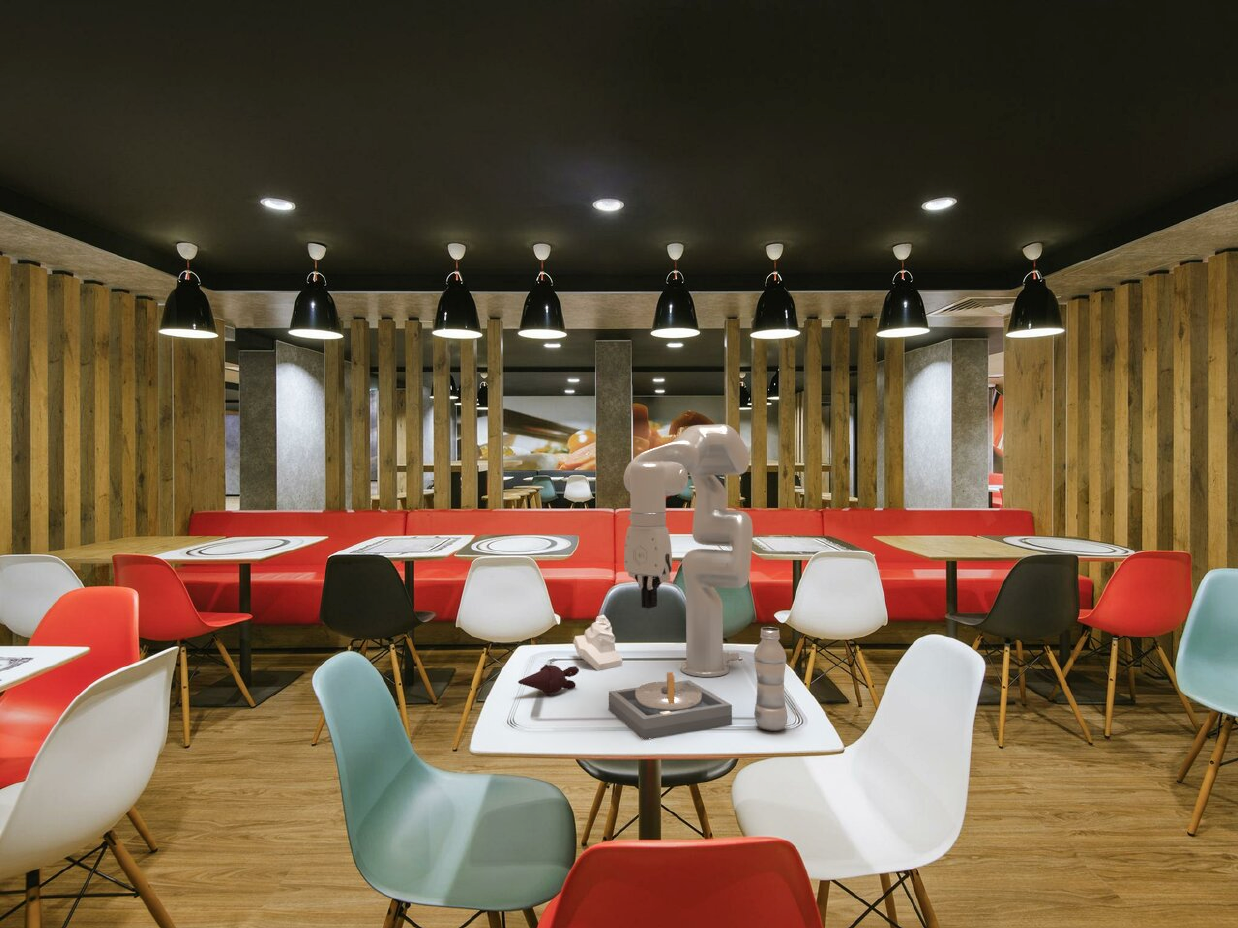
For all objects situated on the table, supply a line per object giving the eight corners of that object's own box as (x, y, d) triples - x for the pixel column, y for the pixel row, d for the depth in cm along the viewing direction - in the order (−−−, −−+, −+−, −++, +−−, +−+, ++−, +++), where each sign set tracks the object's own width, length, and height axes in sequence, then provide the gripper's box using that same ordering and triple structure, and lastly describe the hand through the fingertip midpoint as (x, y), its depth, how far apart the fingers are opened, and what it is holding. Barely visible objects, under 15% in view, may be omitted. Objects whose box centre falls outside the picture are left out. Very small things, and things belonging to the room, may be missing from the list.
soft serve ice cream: (613, 659, 191) (626, 612, 190) (620, 680, 176) (634, 628, 175) (570, 650, 189) (584, 602, 188) (574, 670, 174) (588, 618, 173)
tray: (689, 697, 153) (689, 678, 153) (732, 724, 137) (731, 703, 137) (608, 709, 146) (608, 689, 146) (643, 739, 129) (643, 717, 129)
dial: (633, 695, 148) (633, 659, 148) (696, 694, 148) (696, 658, 148) (637, 718, 134) (636, 678, 134) (706, 717, 134) (706, 677, 134)
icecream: (526, 675, 149) (586, 672, 157) (515, 659, 156) (573, 656, 163) (521, 704, 150) (580, 698, 158) (510, 687, 157) (568, 682, 164)
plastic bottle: (769, 737, 130) (768, 634, 130) (747, 725, 136) (746, 627, 136) (794, 731, 133) (793, 630, 133) (772, 720, 139) (771, 624, 139)
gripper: (610, 520, 144) (611, 605, 144) (664, 524, 134) (666, 615, 134) (633, 517, 149) (634, 599, 149) (687, 521, 139) (688, 608, 139)
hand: (649, 606), depth 142 cm, fingers closed
